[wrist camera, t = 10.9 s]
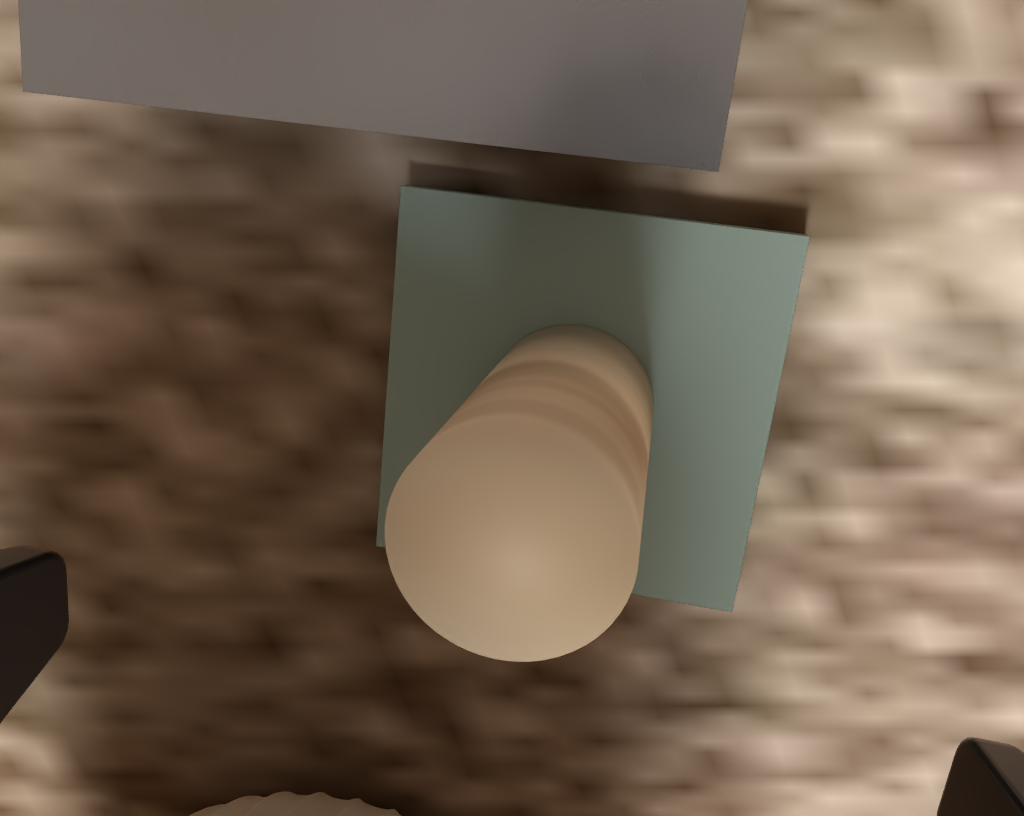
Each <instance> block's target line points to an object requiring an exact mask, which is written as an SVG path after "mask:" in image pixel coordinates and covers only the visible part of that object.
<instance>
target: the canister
mask: <svg viewBox="0 0 1024 816" xmlns="http://www.w3.org/2000/svg"><path fill="white" fill-rule="evenodd" d="M190 816H402V815H400V814H399V813H398V812H397V811H396V810H395V809H389V810H388V809H382V808H378V807H374V806H372V805H369V804H367V803H364V802H363V801H362V800H361V799H359V798H354V799H351V800H343V799H337V798H333V797H331V796H329V795H327V794H326V793H323V792H318V793H314V794H311V795H297V794H294V793H292V792H286V791H282V792H278V793H274V794H272V795H270V796H268V797H261V796H245V797H240V798H238V799H235V800H233V801H231V802H229V803H227V804H223V805H215V806H211V807H207V808H204V809H202V810H200V811H198V812H195V813H193V814H192V815H190Z"/></svg>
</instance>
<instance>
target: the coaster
mask: <svg viewBox="0 0 1024 816" xmlns="http://www.w3.org/2000/svg"><path fill="white" fill-rule="evenodd" d="M809 239H810V237H809V236H808V235H806V234H800V233H792V232H784V231H776V230H768V229H760V228H752V227H744V226H736V225H728V224H719V223H711V222H703V221H695V220H687V219H679V218H671V217H663V216H655V215H647V214H639V213H630V212H622V211H614V210H606V209H598V208H590V207H582V206H574V205H566V204H558V203H550V202H542V201H533V200H525V199H517V198H509V197H501V196H493V195H485V194H477V193H469V192H461V191H453V190H444V189H436V188H428V187H420V186H412V185H406V186H401V190H400V205H399V219H398V234H397V248H396V263H395V277H394V292H393V306H392V321H391V335H390V350H389V365H388V379H387V394H386V408H385V423H384V437H383V452H382V466H381V481H380V495H379V510H378V524H377V539H376V546H379V547H384V548H386V545H385V520H386V513H387V508H388V504H389V501H390V497H391V494H392V492H393V490H394V488H395V486H396V483H397V481H398V480H399V478H400V477H401V475H402V473H403V472H404V470H405V469H406V468H407V466H408V465H409V464H410V463H411V462H412V461H413V460H414V458H415V457H416V456H417V455H418V454H419V453H420V452H421V450H422V449H423V448H424V447H425V446H426V445H427V444H428V443H429V441H430V440H431V439H432V438H433V437H434V436H435V435H436V433H437V432H438V431H439V430H440V429H441V428H442V427H443V426H444V424H445V423H446V422H447V421H448V420H449V419H450V418H451V416H452V415H453V414H454V413H455V412H456V411H457V410H458V409H459V407H460V406H461V405H462V404H463V403H464V402H465V401H466V399H467V398H468V397H469V396H470V395H471V394H472V393H473V392H474V390H475V389H476V388H477V387H478V386H479V385H480V384H481V382H482V381H483V380H484V379H485V378H486V377H487V376H488V375H489V373H490V372H491V371H492V370H493V369H494V368H495V367H496V365H497V364H498V363H499V362H500V361H501V360H502V359H503V358H504V356H505V355H506V354H507V353H508V352H509V351H510V350H511V348H512V347H513V346H514V345H516V344H517V343H518V342H519V341H520V340H521V339H523V338H525V337H526V336H528V335H529V334H531V333H533V332H535V331H537V330H539V329H542V328H545V327H549V326H553V325H559V324H581V325H586V326H591V327H595V328H597V329H600V330H603V331H605V332H607V333H609V334H611V335H613V336H615V337H616V338H617V339H619V340H620V341H622V342H623V343H624V344H625V345H626V346H628V347H629V348H630V349H631V350H632V351H633V353H634V354H635V355H636V356H637V357H638V359H639V360H640V362H641V363H642V365H643V366H644V368H645V370H646V372H647V374H648V377H649V380H650V383H651V386H652V391H653V397H654V412H653V422H652V432H651V442H650V452H649V462H648V472H647V482H646V492H645V502H644V512H643V522H642V533H641V543H640V553H639V563H638V572H637V576H636V580H635V584H634V587H633V590H632V592H631V594H636V595H641V596H646V597H652V598H657V599H663V600H668V601H673V602H679V603H684V604H689V605H695V606H700V607H705V608H711V609H716V610H721V611H727V612H732V610H733V605H734V601H735V596H736V591H737V586H738V581H739V576H740V572H741V567H742V562H743V557H744V552H745V548H746V543H747V538H748V533H749V528H750V523H751V519H752V514H753V509H754V504H755V499H756V494H757V490H758V485H759V480H760V475H761V470H762V465H763V461H764V456H765V451H766V446H767V441H768V437H769V432H770V427H771V422H772V417H773V412H774V408H775V403H776V398H777V393H778V388H779V383H780V379H781V374H782V369H783V364H784V359H785V355H786V350H787V345H788V340H789V335H790V330H791V326H792V321H793V316H794V311H795V306H796V301H797V297H798V292H799V287H800V282H801V277H802V272H803V268H804V263H805V258H806V253H807V248H808V244H809Z"/></svg>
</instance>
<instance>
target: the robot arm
mask: <svg viewBox="0 0 1024 816" xmlns="http://www.w3.org/2000/svg"><path fill="white" fill-rule="evenodd" d="M68 624H69V615H68V594H67V573H66V564H65V561H64V559H63V558H62V556H61V555H59V554H58V553H57V552H54V551H50V550H45V549H40V548H35V547H30V546H17V547H12V548H7V549H2V550H0V723H1V721H2V720H3V719H4V718H5V716H6V715H7V714H8V713H9V711H10V710H11V709H12V707H13V706H14V705H15V704H16V702H17V701H18V700H19V698H20V697H21V696H22V695H23V693H24V692H25V691H26V690H27V688H28V687H29V686H30V684H31V683H32V682H33V681H34V679H35V678H36V677H37V675H38V674H39V673H40V672H41V670H42V669H43V668H44V666H45V665H46V664H47V663H48V661H49V660H50V659H51V658H52V656H53V655H54V654H55V652H56V651H57V650H58V649H59V647H60V646H61V644H62V642H63V640H64V638H65V636H66V633H67V629H68ZM937 816H1024V753H1023V752H1022V751H1021V750H1019V749H1018V748H1016V747H1014V746H1012V745H1009V744H1005V743H999V742H994V741H989V740H984V739H979V738H973V737H969V738H966V739H965V740H963V741H962V742H961V743H960V745H959V746H958V748H957V750H956V753H955V756H954V759H953V762H952V766H951V769H950V772H949V775H948V778H947V782H946V785H945V788H944V791H943V794H942V798H941V801H940V804H939V807H938V811H937Z"/></svg>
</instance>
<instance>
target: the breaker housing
mask: <svg viewBox="0 0 1024 816" xmlns="http://www.w3.org/2000/svg"><path fill="white" fill-rule="evenodd" d="M747 3H748V0H18V4H19V22H20V41H21V59H22V78H23V92H31V93H40V94H49V95H57V96H66V97H75V98H83V99H92V100H101V101H109V102H118V103H127V104H135V105H144V106H153V107H161V108H170V109H179V110H187V111H196V112H205V113H213V114H222V115H231V116H239V117H248V118H257V119H266V120H274V121H283V122H292V123H300V124H309V125H318V126H326V127H335V128H344V129H352V130H361V131H370V132H378V133H387V134H396V135H404V136H413V137H422V138H430V139H439V140H448V141H456V142H465V143H474V144H483V145H491V146H500V147H509V148H517V149H526V150H535V151H543V152H552V153H561V154H569V155H578V156H587V157H595V158H604V159H613V160H621V161H630V162H639V163H647V164H656V165H665V166H673V167H682V168H691V169H699V170H708V171H717V172H718V171H719V165H720V159H721V154H722V148H723V142H724V136H725V130H726V125H727V119H728V113H729V107H730V101H731V96H732V90H733V84H734V78H735V72H736V67H737V61H738V55H739V49H740V44H741V38H742V32H743V26H744V20H745V15H746V9H747Z"/></svg>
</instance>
